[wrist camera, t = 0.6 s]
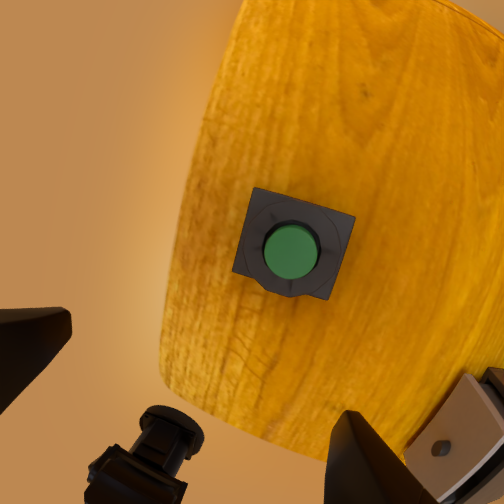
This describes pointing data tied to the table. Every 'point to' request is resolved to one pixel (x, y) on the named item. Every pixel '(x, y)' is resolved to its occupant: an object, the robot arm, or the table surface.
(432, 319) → the table surface
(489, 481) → the cabinet
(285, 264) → the button
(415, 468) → the drawer
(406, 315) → the table surface
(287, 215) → the control block
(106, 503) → the robot arm
